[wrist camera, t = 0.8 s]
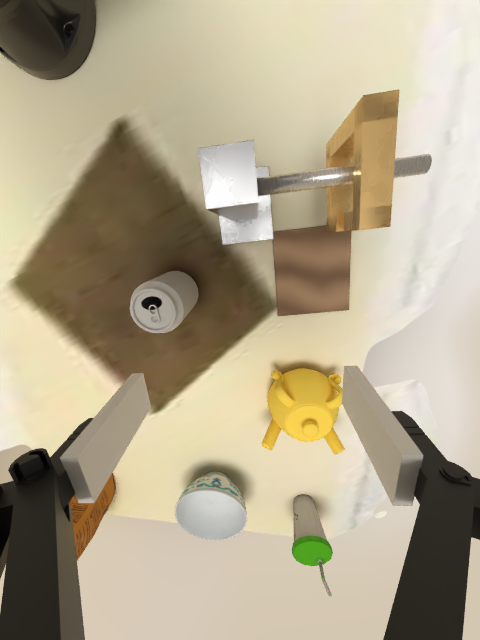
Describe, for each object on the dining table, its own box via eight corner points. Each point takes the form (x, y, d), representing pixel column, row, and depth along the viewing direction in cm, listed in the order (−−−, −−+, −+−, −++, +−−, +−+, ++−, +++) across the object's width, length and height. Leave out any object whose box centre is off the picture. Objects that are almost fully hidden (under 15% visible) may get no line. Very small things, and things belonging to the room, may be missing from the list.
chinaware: (252, 502, 61) (251, 539, 53) (192, 505, 62) (184, 541, 55) (242, 455, 56) (240, 488, 49) (178, 459, 58) (166, 492, 50)
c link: (326, 144, 27) (363, 95, 18) (349, 141, 27) (399, 89, 17) (326, 232, 30) (359, 230, 20) (347, 229, 30) (390, 226, 20)
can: (193, 266, 43) (171, 278, 31) (204, 307, 45) (186, 333, 34) (152, 274, 44) (115, 289, 32) (164, 314, 46) (134, 341, 35)
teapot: (260, 417, 52) (261, 464, 42) (264, 359, 48) (266, 395, 37) (330, 421, 52) (349, 470, 41) (341, 363, 47) (366, 400, 37)
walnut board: (272, 232, 40) (272, 232, 39) (349, 222, 39) (351, 222, 38) (277, 315, 45) (278, 316, 44) (347, 308, 43) (348, 309, 43)
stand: (214, 175, 38) (153, 92, 15) (350, 156, 36) (509, 28, 13) (223, 244, 41) (184, 259, 19) (348, 229, 39) (473, 227, 17)
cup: (285, 489, 59) (294, 572, 45) (319, 488, 58) (340, 571, 44) (287, 513, 61) (297, 597, 47) (320, 512, 60) (340, 597, 46)
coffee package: (76, 497, 64) (-10, 624, 43) (77, 462, 60) (-18, 584, 39) (114, 506, 64) (47, 636, 44) (118, 471, 60) (45, 598, 39)
